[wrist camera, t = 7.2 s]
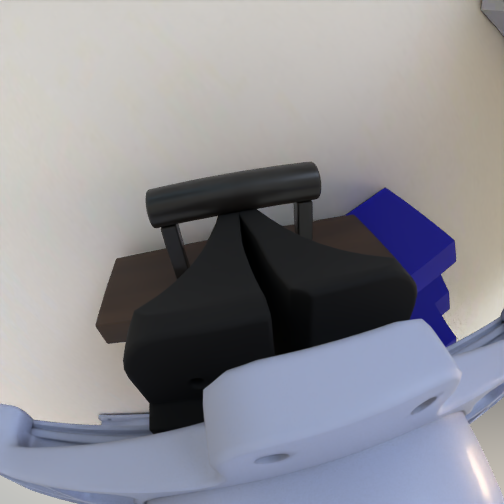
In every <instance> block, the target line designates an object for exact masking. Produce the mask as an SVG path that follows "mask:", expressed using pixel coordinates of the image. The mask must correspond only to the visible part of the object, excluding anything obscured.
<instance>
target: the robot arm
mask: <svg viewBox="0 0 504 504" xmlns="http://www.w3.org/2000/svg"><path fill="white" fill-rule="evenodd" d="M416 298H417V285H416V283H415V281H414V280H413V278H412V277H411V276H410V275H409V273H408V272H407V271H406V270H405V269H404V268H403V267H402V265H401V264H400V263H399V262H398V261H397V260H396V259H395V258H391V257H382V256H373V255H365V254H360V253H355V252H349V251H345V250H341V249H337V248H333V247H330V246H327V245H323V244H320V243H317V242H315V241H312V240H310V239H307V238H305V237H302V236H300V235H298V234H296V233H294V232H292V231H290V230H288V229H286V228H284V227H283V226H281V225H279V224H278V223H276V222H274V221H273V220H271V219H270V218H268V217H267V216H265V215H264V214H263V213H261V212H260V211H258V210H257V209H251V210H245V211H240V212H234V213H229V214H223V215H219V216H218V218H217V221H216V224H215V227H214V229H213V231H212V233H211V235H210V238H209V239H208V241H207V243H206V245H205V246H204V248H203V250H202V251H201V253H200V254H199V256H198V257H197V259H196V260H195V261H194V262H193V264H192V265H191V266H190V267H189V268H188V269H187V270H186V271H185V272H184V273H183V274H182V275H181V276H180V277H179V278H178V279H177V280H176V281H175V282H174V283H173V284H172V285H171V286H169V287H168V288H167V289H166V290H164V291H163V292H162V293H160V294H159V295H158V296H156V297H155V298H153V299H152V300H150V301H149V302H147V303H146V304H144V305H143V306H141V307H140V308H138V309H136V310H134V313H133V316H132V319H131V322H130V325H129V329H128V333H127V338H126V345H125V351H124V358H123V363H124V370H125V372H126V374H127V376H128V377H129V379H130V380H131V381H132V383H133V384H134V385H135V386H136V388H137V389H138V390H139V391H140V392H141V394H142V395H143V396H144V397H145V398H146V400H147V401H148V402H149V403H150V406H149V414H130V415H99V417H98V419H99V420H100V421H102V423H101V425H82V424H68V423H57V422H48V421H40V420H33V419H32V418H31V417H30V416H29V415H28V414H27V413H26V412H25V411H23V410H22V409H20V408H18V407H15V406H12V405H5V404H0V475H1V476H3V477H5V478H7V479H9V480H11V481H13V482H15V483H17V484H19V485H22V486H23V487H26V488H28V489H30V490H32V491H35V492H38V493H41V494H45V495H48V496H51V497H55V498H58V499H62V500H65V501H69V502H73V503H77V504H504V498H503V495H502V493H501V490H500V488H499V485H498V483H497V481H496V478H495V476H494V474H493V472H492V469H491V467H490V465H489V463H488V461H487V458H486V456H485V454H484V452H483V450H482V448H481V446H480V444H479V442H478V440H477V438H476V436H475V434H474V432H473V430H472V428H471V426H470V425H469V424H470V423H472V422H473V421H474V420H476V419H477V418H478V417H480V416H481V415H482V414H483V413H485V412H486V411H487V410H489V409H490V408H491V407H492V406H493V405H495V404H496V403H497V402H498V401H499V400H500V399H502V398H503V397H504V309H503V311H502V313H501V316H500V317H499V318H497V319H496V320H494V321H492V322H491V323H489V324H488V325H486V326H484V327H483V328H481V329H479V330H477V331H476V332H474V333H472V334H470V335H469V336H467V337H465V338H463V339H461V340H459V341H458V342H456V343H454V344H452V345H450V346H448V347H445V346H444V344H443V343H442V342H441V340H440V339H439V337H438V336H437V334H436V333H435V332H434V330H433V329H432V327H431V326H430V325H428V324H427V323H426V322H425V321H424V320H423V319H412V320H410V317H411V315H412V312H413V309H414V306H415V303H416Z"/></svg>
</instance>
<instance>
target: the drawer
mask: <svg viewBox="0 0 504 504" xmlns="http://www.w3.org/2000/svg"><path fill="white" fill-rule="evenodd" d="M320 194H321V179H320V174H319V171H318V168H317V166H316V165H315V164H314V163H313V162H303V163H295V164H287V165H280V166H273V167H266V168H259V169H253V170H246V171H240V172H234V173H228V174H223V175H217V176H212V177H206V178H201V179H196V180H191V181H186V182H181V183H177V184H172V185H167V186H163V187H158V188H154V189H150V190H148V191H147V192H146V209H147V214H148V217H149V220H150V223H151V225H152V226H153V227H154V228H159V227H161V232H162V235H163V239H164V242H165V245H166V249H161V250H156V251H151V252H146V253H141V254H136V255H131V256H127V257H122V258H117V259H116V261H115V264H114V267H113V270H112V273H111V276H110V279H109V282H108V285H107V288H106V291H105V294H104V297H103V301H102V304H101V307H100V311H99V314H98V318H97V322H96V328H97V329H98V331H99V332H100V334H101V335H102V337H103V338H104V340H105V341H106V343H108V344H110V343H119V342H126V338H127V333H128V329H129V325H130V322H131V319H132V316H133V313H134V310H136V309H138V308H140V307H141V306H143V305H144V304H146V303H147V302H149V301H150V300H152V299H153V298H155V297H156V296H158V295H159V294H160V293H162V292H163V291H164V290H166V289H167V288H168V287H169V286H171V285H172V284H173V283H174V282H175V281H176V280H177V279H178V278H179V277H180V276H181V275H182V274H183V273H184V272H185V271H186V270H187V269H188V268H189V267H190V266H191V265H192V264H193V262H194V261H195V260H196V259H197V257H198V256H199V254H200V253H201V251H202V250H203V248H204V246H205V245H206V243H207V241H208V240H207V241H202V242H196V243H191V244H186V245H184V243H183V240H182V236H181V232H180V229H179V225H178V224H179V223H184V222H188V221H194V220H199V219H204V218H209V217H214V216H219V215H223V214H229V213H234V212H240V211H245V210H251V209H258V208H264V207H270V206H276V205H282V204H288V203H294V225H288V226H283V227H284V228H286V229H288V230H290V231H292V232H294V233H296V234H298V235H300V236H302V237H305V238H307V239H310V240H312V241H315V242H317V243H320V244H323V245H327V246H330V247H333V248H337V249H341V250H345V251H349V252H355V253H360V254H365V255H373V256H382V257H391V258H395V257H394V256H393V255H392V254H391V253H390V252H389V250H388V249H387V248H386V247H385V246H384V245H383V244H382V243H381V242H380V241H379V240H378V239H377V238H376V237H375V235H374V234H373V233H372V232H371V231H370V230H369V229H368V228H367V227H366V226H365V225H364V224H363V223H362V222H361V221H360V220H359V219H358V218H357V217H356V216H355V215H354V214H352V215H346V216H340V217H334V218H328V219H322V220H316V221H313V214H312V201H311V200H314V199H317V198H319V196H320ZM395 259H396V258H395ZM396 260H397V259H396ZM397 261H398V260H397Z"/></svg>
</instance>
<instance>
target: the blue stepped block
mask: <svg viewBox="0 0 504 504" xmlns="http://www.w3.org/2000/svg"><path fill="white" fill-rule="evenodd" d="M352 214H354V215H355V216H356V217H357V218H358V219H359V220H360V221H361V222H362V223H363V224H364V225H365V226H366V227H367V228H368V229H369V230H370V231H371V232H372V233H373V234H374V235H375V237H376V238H377V239H378V240H379V241H380V242H381V243H382V244H383V245H384V246H385V247H386V248H387V249H388V250H389V252H390V253H391V254H392V255H393V256H394V257H395V258H396V259H397V260H398V262H399V263H400V264H401V265H402V267H403V268H404V269H405V270H406V271H407V272H408V273H409V275H410V276H411V277H412V278H413V280H414V281H415V283H416V285H417V298H416V303H415V306H414V309H413V312H412V315H411V317H410V320H412V319H423V320H424V321H425V322H426V323H427V324H428V325H430V326H431V327H432V329H433V330H434V332H435V333H436V334H437V336H438V337H439V339H440V340H441V342H442V343H443V344H444V346H445V347H448V346H450V345H452V344H454V343H456V336H455V335H454V334H453V332H452V331H451V329H450V328H449V326H448V325H447V323H446V322H445V320H444V319H443V317H442V315H443V314H444V313H445V312H446V311H448V310H449V309H450V303H449V291H448V289H447V287H446V285H445V283H444V281H443V279H442V276H441V274H442V273H443V272H444V271H445V270H446V269H448V268H449V267H450V266H451V265H452V264H454V263H455V262H456V251H455V240H454V239H452V238H451V237H450V236H449V235H448V234H446V233H445V232H444V231H443V230H441V229H440V228H439V227H438V226H437V225H435V224H434V223H433V222H432V221H430V220H429V219H428V218H426V217H425V216H424V215H423V214H421V213H420V212H419V211H417V210H416V209H415V208H413V207H412V206H411V205H409V204H408V203H407V202H405V201H404V200H402V199H401V198H400V197H398V196H397V195H395V194H394V193H393V192H391V191H390V190H388V189H387V188H384V189H382V190H381V191H379V192H378V193H376V194H375V195H374V196H372V197H371V198H369V199H368V200H366V201H365V202H364V203H362V204H361V205H359V206H358V207H356V208H355V209H354V210H352V211H351V212H349V213H348V214H346V215H352Z"/></svg>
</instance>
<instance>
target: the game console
mask: <svg viewBox="0 0 504 504" xmlns="http://www.w3.org/2000/svg"><path fill="white" fill-rule="evenodd" d="M481 10H482V11H483V13H484V14H485V15H486V16H487V17H488V18H489V19H490V20H491V21H492V23H493V24H494V25H495V26H496V27H497V29H498V30H499V31H500V32H501V34H502V35H503V36H504V0H482V7H481Z"/></svg>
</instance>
